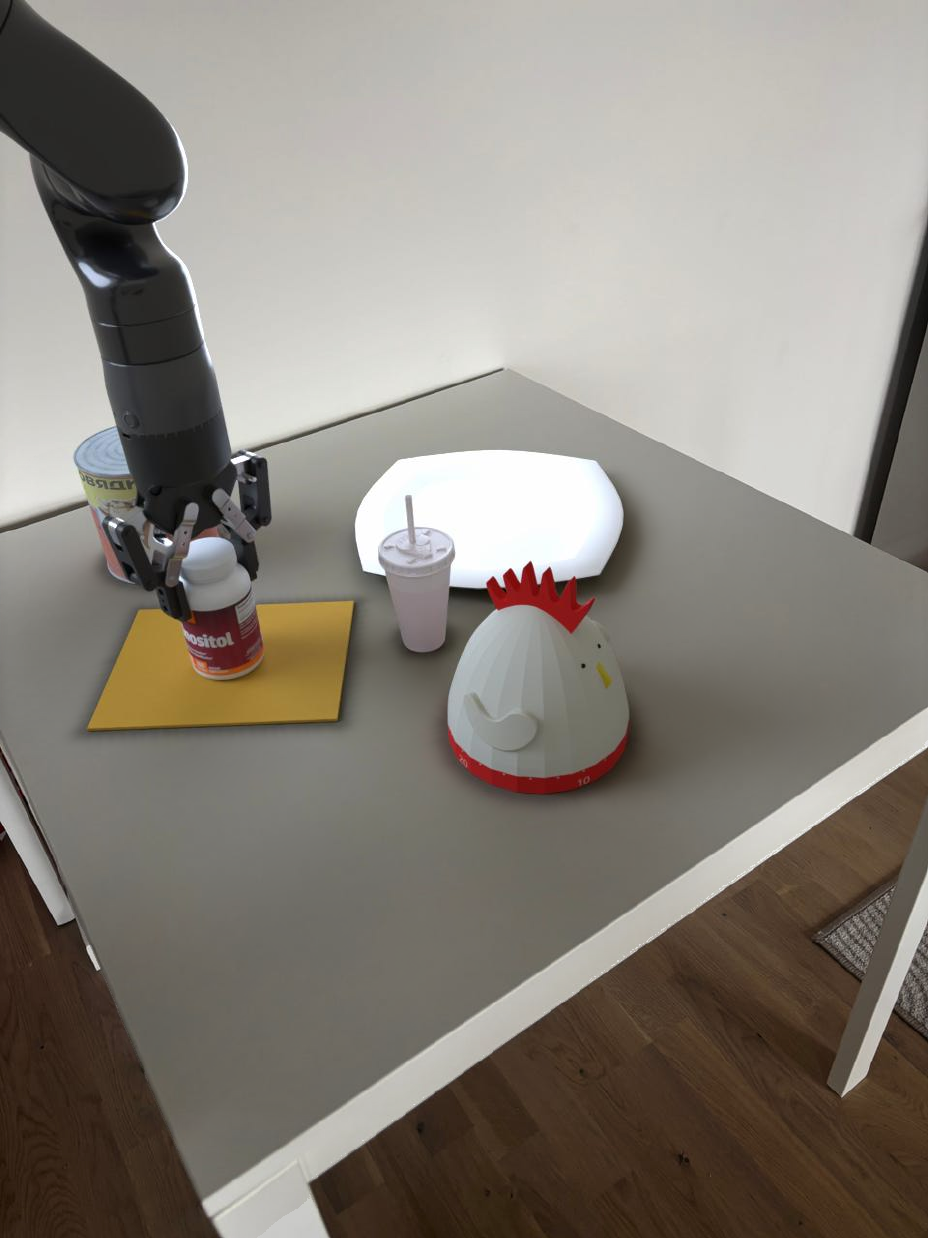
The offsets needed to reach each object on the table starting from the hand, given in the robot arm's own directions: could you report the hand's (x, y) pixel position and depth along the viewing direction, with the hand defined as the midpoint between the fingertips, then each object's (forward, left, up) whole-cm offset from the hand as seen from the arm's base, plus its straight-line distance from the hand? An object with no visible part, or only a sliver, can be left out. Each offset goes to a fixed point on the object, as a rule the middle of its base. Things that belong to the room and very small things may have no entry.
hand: (213, 596), depth 79 cm
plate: (+19, +24, -7) cm, 32 cm away
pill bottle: (0, 0, -7) cm, 7 cm away
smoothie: (+16, +5, -7) cm, 18 cm away
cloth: (0, 0, -7) cm, 7 cm away
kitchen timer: (+27, -5, -7) cm, 28 cm away
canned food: (-13, +16, -7) cm, 22 cm away
